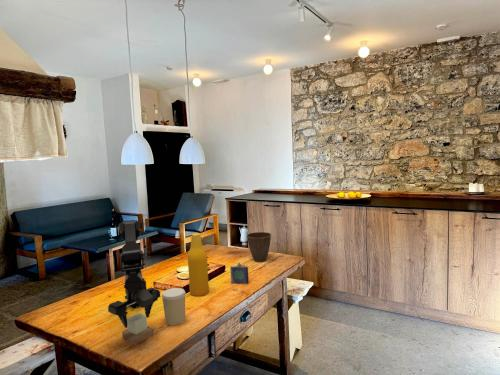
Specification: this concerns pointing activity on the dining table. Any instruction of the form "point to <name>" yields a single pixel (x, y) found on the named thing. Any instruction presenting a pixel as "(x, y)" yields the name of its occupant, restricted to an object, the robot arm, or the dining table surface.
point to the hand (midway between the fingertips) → (137, 322)
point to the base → (137, 335)
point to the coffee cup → (174, 306)
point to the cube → (137, 323)
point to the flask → (239, 274)
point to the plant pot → (259, 245)
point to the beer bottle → (197, 267)
